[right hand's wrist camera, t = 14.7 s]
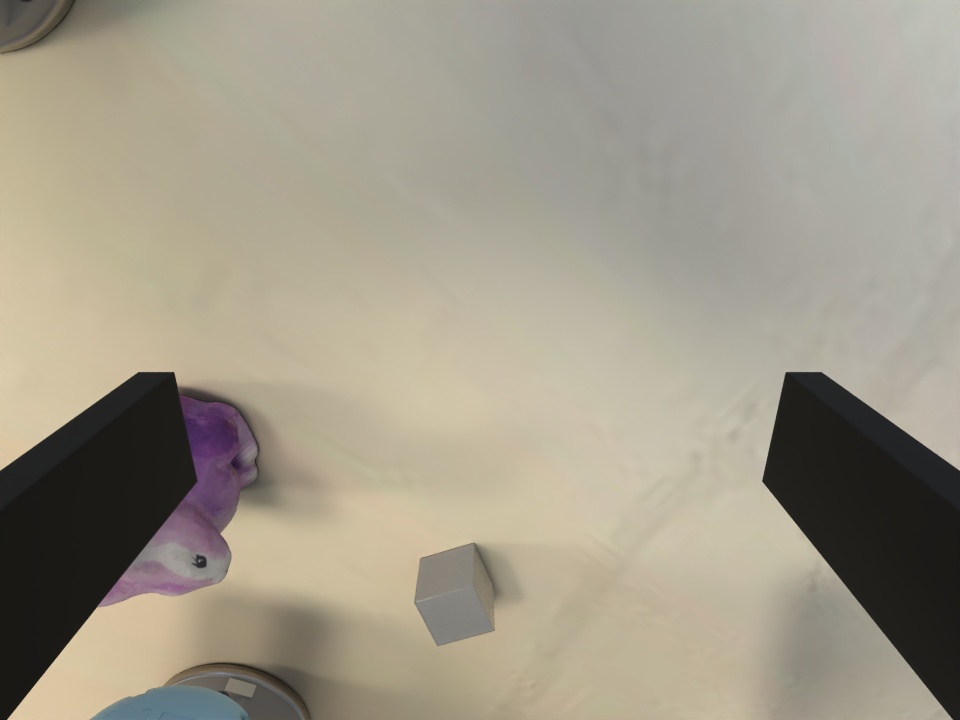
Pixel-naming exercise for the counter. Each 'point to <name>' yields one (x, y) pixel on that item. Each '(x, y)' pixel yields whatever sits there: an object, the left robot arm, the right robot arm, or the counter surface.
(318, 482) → the counter surface
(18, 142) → the counter surface
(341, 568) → the counter surface
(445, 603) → the grey ceramic block
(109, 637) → the counter surface
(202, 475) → the figurine
